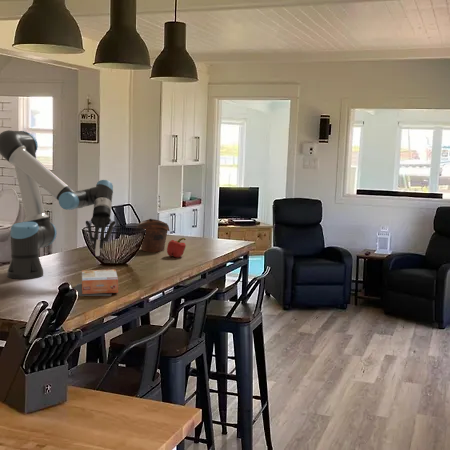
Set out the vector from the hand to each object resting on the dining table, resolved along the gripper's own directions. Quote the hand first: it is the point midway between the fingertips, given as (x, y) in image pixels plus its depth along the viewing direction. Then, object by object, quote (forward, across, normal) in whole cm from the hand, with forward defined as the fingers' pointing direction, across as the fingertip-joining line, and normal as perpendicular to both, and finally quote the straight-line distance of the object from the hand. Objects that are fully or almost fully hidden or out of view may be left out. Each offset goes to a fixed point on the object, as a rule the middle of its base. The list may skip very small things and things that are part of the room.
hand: (97, 254), depth 260 cm
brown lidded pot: (-57, +18, +76) cm, 96 cm away
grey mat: (+16, 0, +3) cm, 16 cm away
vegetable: (-41, +32, +60) cm, 79 cm away
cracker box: (+5, 0, +8) cm, 10 cm away
